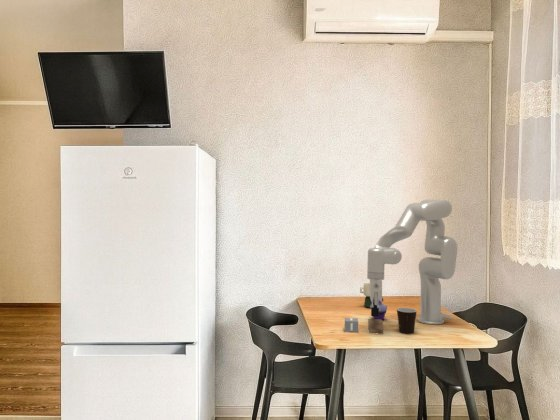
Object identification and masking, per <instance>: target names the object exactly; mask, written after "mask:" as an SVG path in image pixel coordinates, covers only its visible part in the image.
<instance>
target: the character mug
mask: <svg viewBox="0 0 560 420" xmlns="http://www.w3.org/2000/svg"><path fill="white" fill-rule="evenodd" d="M359 289H360V290H359V293H360V294H363V296H365V297H364V305H363V306H364V307H365V308H370V309H371V307H370V305H371V304H372V301H371V299H370V282H367V283H363V287H362V286H361V287H360V288H359Z"/></svg>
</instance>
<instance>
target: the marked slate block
mask: <svg viewBox="0 0 560 420" xmlns="http://www.w3.org/2000/svg"><path fill="white" fill-rule="evenodd" d="M344 332H345V333H359V318H358V317H355V318H354V317H344Z"/></svg>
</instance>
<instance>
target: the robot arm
mask: <svg viewBox="0 0 560 420" xmlns="http://www.w3.org/2000/svg"><path fill="white" fill-rule="evenodd" d="M452 212H453V205H452V204H451V202H450V201H449V200H447V199H424V200H421V201H420V202H412V203H409V204H408V205H407V206H406V207H405V208H404V210H403V212H402V213H401V215H400V217H399V219H398V221H397V222H396V224H395V226H394V227H392V228H390V229H389V230H388V231H387V232H386V233H384V234H383V235H382V236H381V237H380V238H379V239H378V241H377V242H376V244H375V246H374V247H371V248H369V249H368V250H367V266H366V267H367V270H366V271H367V276H366V278H367V279H368V280H369V283H370V299H371V301H372V307H371V308H370V311H371V312H370V316H371V317H372V318H373V317H378V316H379V307H378V303H379V301H380V302H382V298H383V281H384V280H385V265H391V266H393V265H397V264H399V263H400V262H401V261H402V258H403V256H402V252H401V251H400V250H399V249H397V248H396V247H392V246H393V245H394V244H396V243H398V242H400V241H403V240H405V239H408V238H410V237H412V235H413V233H414V231H415V229H416V228H417V226H418V224H419V223H420V222H424V221H425V224H426V231H425V232H426V234H425V239H424V240H425V241H424V251H425V252H426V253H427V254H429V255H433V256H440V258H439V257H432V256H427V257H424V258H422V259H420V261H419V263H418V272H419V277H420V278H419V280H420V315H419V316H418V317H416V321H417V322H419V323H421V324H426V325H442V324H444V323H445V320H451V319H452V315H451V314H447V313H446V314H443V313H442V284H441V281H440V279H441V280H450V279H452V277H454V274H455V271H456V264H457V257H458V244H457V242H456V240H455V238H454V237H451V236H445V232H446V231H445V230H446V226H445V225H446V224H445V222H444V220H443V219H445V218H448V217H449V216H450V215H451V214H452ZM382 303H383V302H382Z"/></svg>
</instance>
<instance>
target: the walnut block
mask: <svg viewBox="0 0 560 420" xmlns="http://www.w3.org/2000/svg"><path fill="white" fill-rule="evenodd" d="M367 328H368V329H367V330H369V331H368V334H376V333H378V334H380V335H383V334H384V322H383V321H382V319H373V318H368V320H367ZM378 334H377V335H378Z"/></svg>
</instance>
